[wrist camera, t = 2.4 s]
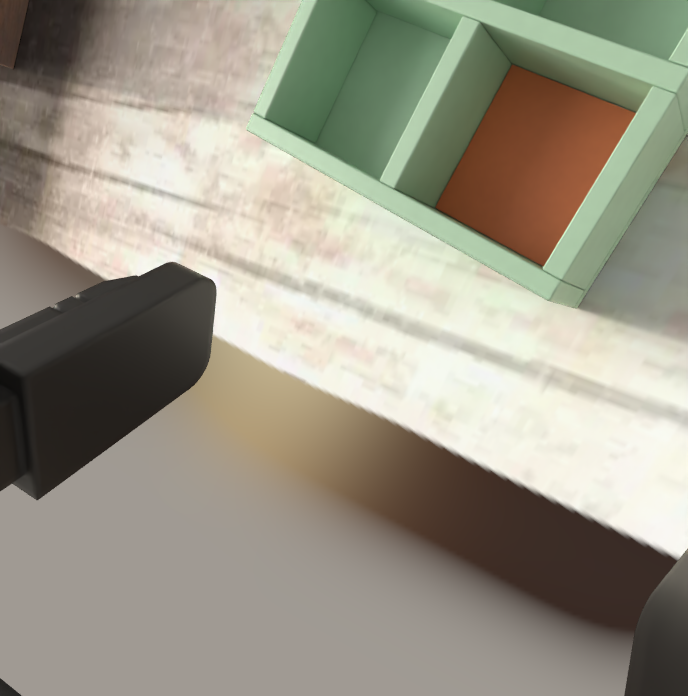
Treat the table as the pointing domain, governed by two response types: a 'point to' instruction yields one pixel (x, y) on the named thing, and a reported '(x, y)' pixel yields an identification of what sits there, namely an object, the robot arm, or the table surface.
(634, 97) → the box
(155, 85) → the table surface
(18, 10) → the tissue box cover
